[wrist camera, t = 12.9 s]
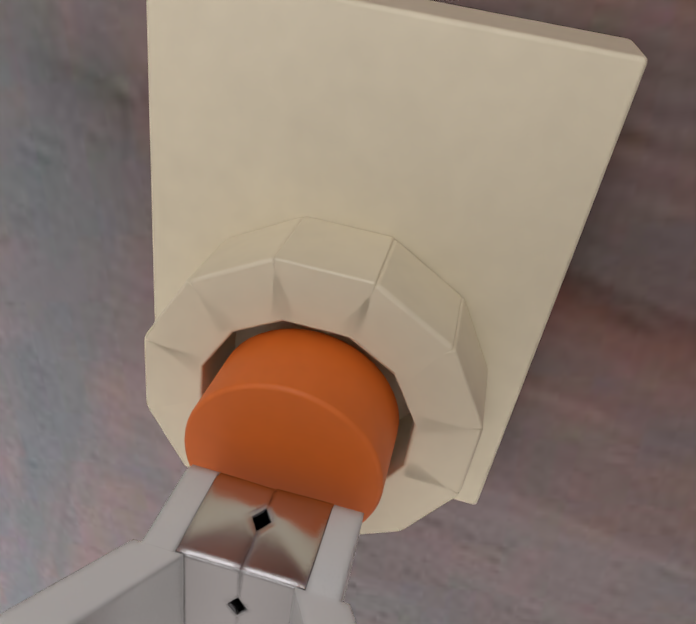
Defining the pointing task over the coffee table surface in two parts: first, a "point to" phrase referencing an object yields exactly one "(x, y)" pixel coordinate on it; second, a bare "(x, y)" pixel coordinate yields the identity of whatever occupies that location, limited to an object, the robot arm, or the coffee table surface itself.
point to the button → (298, 419)
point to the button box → (374, 204)
